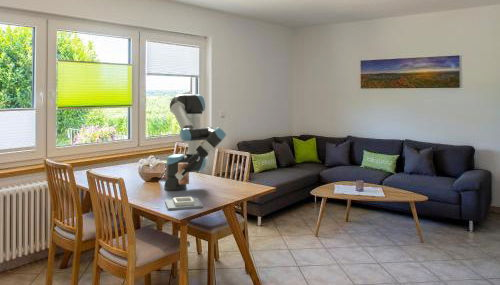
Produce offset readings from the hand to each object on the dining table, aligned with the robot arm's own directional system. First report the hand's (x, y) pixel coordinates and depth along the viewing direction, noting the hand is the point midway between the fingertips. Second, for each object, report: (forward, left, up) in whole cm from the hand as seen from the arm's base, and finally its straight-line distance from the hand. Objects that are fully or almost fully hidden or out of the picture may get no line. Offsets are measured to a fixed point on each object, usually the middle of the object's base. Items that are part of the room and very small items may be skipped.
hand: (177, 177), depth 237 cm
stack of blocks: (-43, +66, -17) cm, 80 cm away
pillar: (+3, +2, -4) cm, 5 cm away
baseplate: (+3, +2, -16) cm, 17 cm away
